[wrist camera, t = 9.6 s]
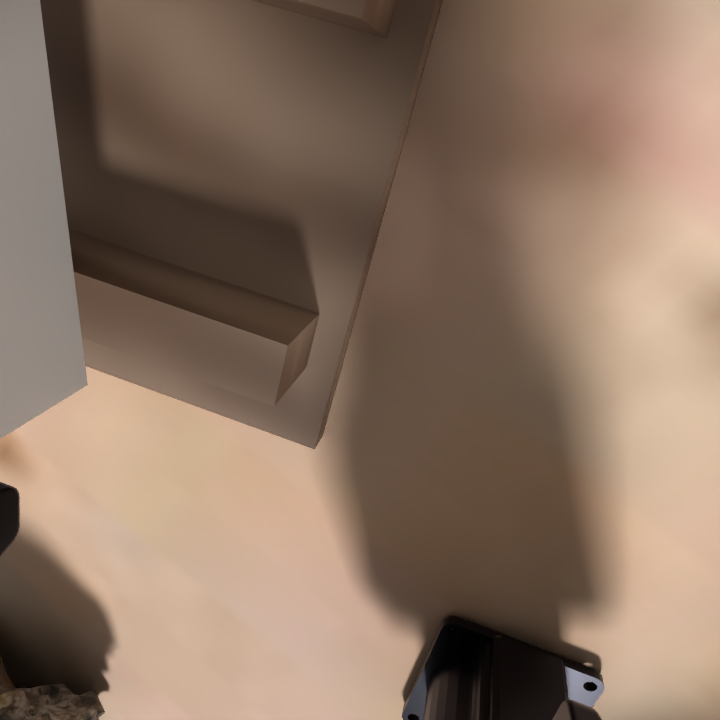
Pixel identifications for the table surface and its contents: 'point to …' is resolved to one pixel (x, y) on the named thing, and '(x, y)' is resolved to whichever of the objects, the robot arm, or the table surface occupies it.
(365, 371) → the table surface
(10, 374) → the light gray rectangular bar
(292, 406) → the walnut rack
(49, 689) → the rock
